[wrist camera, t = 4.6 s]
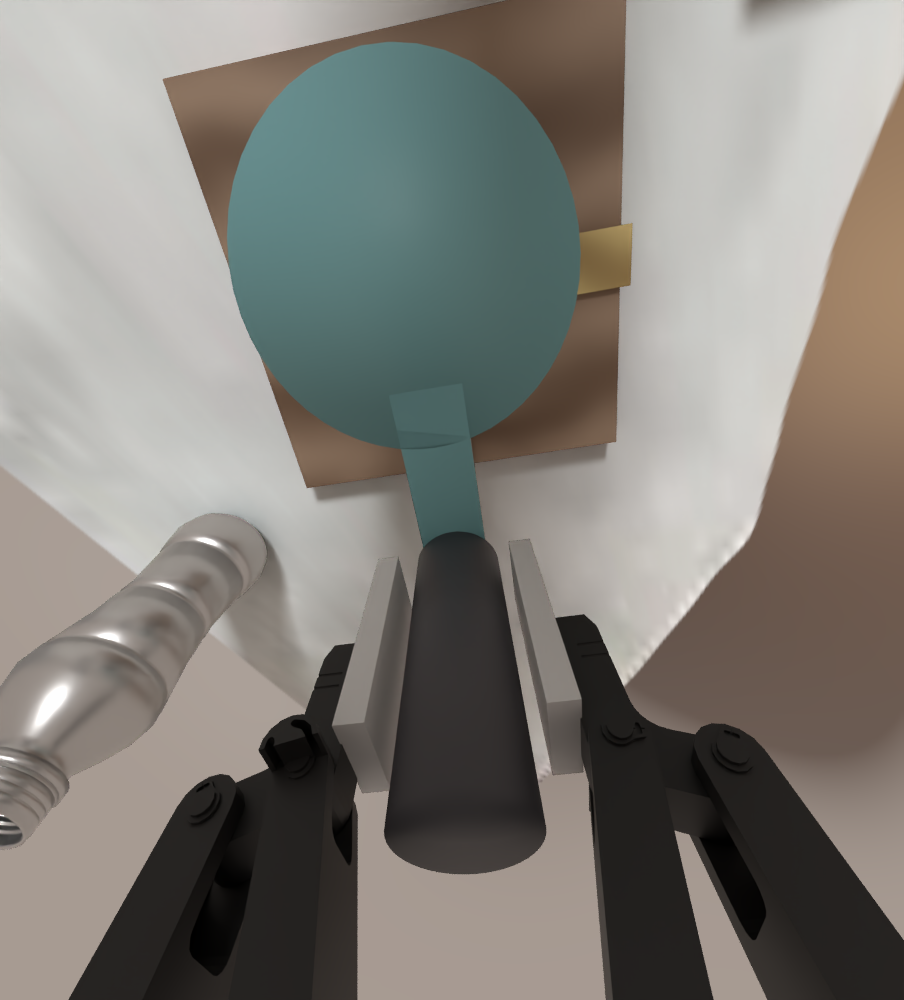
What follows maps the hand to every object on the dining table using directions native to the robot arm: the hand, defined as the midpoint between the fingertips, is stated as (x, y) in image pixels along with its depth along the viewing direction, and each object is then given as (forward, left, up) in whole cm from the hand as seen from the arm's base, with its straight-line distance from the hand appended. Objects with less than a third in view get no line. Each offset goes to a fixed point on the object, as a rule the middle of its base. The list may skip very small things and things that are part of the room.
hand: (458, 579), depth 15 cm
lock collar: (-7, 0, -4) cm, 8 cm away
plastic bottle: (+5, -19, -16) cm, 25 cm away
